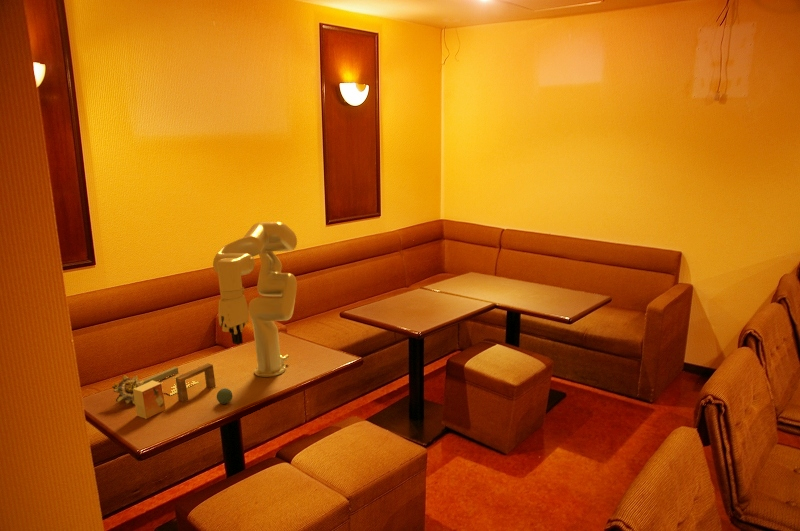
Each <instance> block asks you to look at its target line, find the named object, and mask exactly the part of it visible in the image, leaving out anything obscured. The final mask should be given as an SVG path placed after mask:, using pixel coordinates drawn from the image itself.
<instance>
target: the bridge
mask: <svg viewBox="0 0 800 531" xmlns="http://www.w3.org/2000/svg"><path fill="white" fill-rule="evenodd" d="M214 371H215V370H214V364H211V363H208V362H207V363H205V364H203V365H200V366H198V367H196V368H194V369H191V370H189V371H187V372H185V373H182V374H181V375H177V376H178V377H177V376H174V377H175V380H176V387H177V393H176V394H177V397H178V398H177V399H178V401H179V402H182V403H184V402H188V401H189V396H188V390H187V389H188V388H186V381H185V380H187V379H191V378H193V377H195V376H198V375H200V374H204V378H205V384H206V385H205V387H206V388H209V389H211V388H212V389H214V388H215V386H216V380H215V372H214ZM213 387H214V388H213Z"/></svg>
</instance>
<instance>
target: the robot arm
mask: <svg viewBox="0 0 800 531" xmlns="http://www.w3.org/2000/svg"><path fill="white" fill-rule="evenodd" d="M297 244H298V239H297V235H296V234H295V231H293V230H292V228H290V226H288V225H287V224H285V223H284V222H281V221H261V222H256V223H255V224H253V225H252V226H251V227H250V229H249V230H248V231H247V232H246V234H244V235H243V237H242V238H239V239H236V240H234V241H233V242H230V243H228V244H225V245H224V246H222V247H220V249H219V250H218V251H217V253H216V255H214V258H213V262H212V267H213V270H214V272H215V273H216V274H217V277H218V286H219V293H220V299H219V300H218V308H217V309H218V311H217V312H218V324H219V326H220V327H221V328H222V329H221V331H222V332H224V333H229V334H230V335H231V340H232V344H233V345H237V346H238V345H240V344H244V341H243V331H244V328H245V326H246V325H247V324H248V323H249V322H250V321H249V319H250V320H251V324H252V328H253V336H254V338H253V339H254V346H255V354H256V363H257V364H256V365H257V366H256V367H255V368H254V371H253V372H254V375H256V376H258V377H262V378H270V377H276V376H279V375H281V374H283V373H284V372H285V371H286V370H287V368H286V367H287V366H286V364H284V363H285V361H288V360H289V359H290V355H289V354H285V355H284V356H283V355H281V349H280V348H281V347H280V337H279V329H278V327H277V324H276V323H275V322H281V321H283V322H284V321H288V320H290V319H291V318H292V317H293V315H294V310H295V303H296V297H297V289H298V284H297V283H298V282H297V278H296V276H295V275H294V274H293V273H290V272H282V270H283V263H282V262H281V260H280V259H279V257H278V256H277V255H276V253H275V252H291V251H294V250H295V249H296V247H297ZM256 256H258V257H259V258H260V270H259V273H258V280H257V285H256V286H257V287H256V290H257V292H258V294H259V295H260V296H257V297H254V298H252V299H251V300H250V301H249V303H247V302H248V301H247V298H246V296H245V294H244V291H245V287H244V286H243V281H242V280H243V279H242V276H246V275H249V274H251V272H253V271H254V268H255V266H256V261H255V258H254V257H256Z"/></svg>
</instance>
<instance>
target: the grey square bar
mask: <svg viewBox="0 0 800 531" xmlns="http://www.w3.org/2000/svg"><path fill="white" fill-rule="evenodd" d="M176 373H178V374H179V368H178V367H177V366H173V367H171V368H169V369H166V370H164V371H161V372H158V373H157V374H154V375H152V376H149V377H148V378H145V379H143V380H141V381H144V384H146V383H148V382H150V381H152V380H153V381H156V382H157V381H159V380H162V379H164V378H166V377H168V376H171V375H173V374H176ZM176 375H177V374H176ZM173 376H174V375H173ZM171 377H172V376H171ZM166 379H167V378H166ZM164 380H165V379H164ZM162 381H163V380H162Z"/></svg>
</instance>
